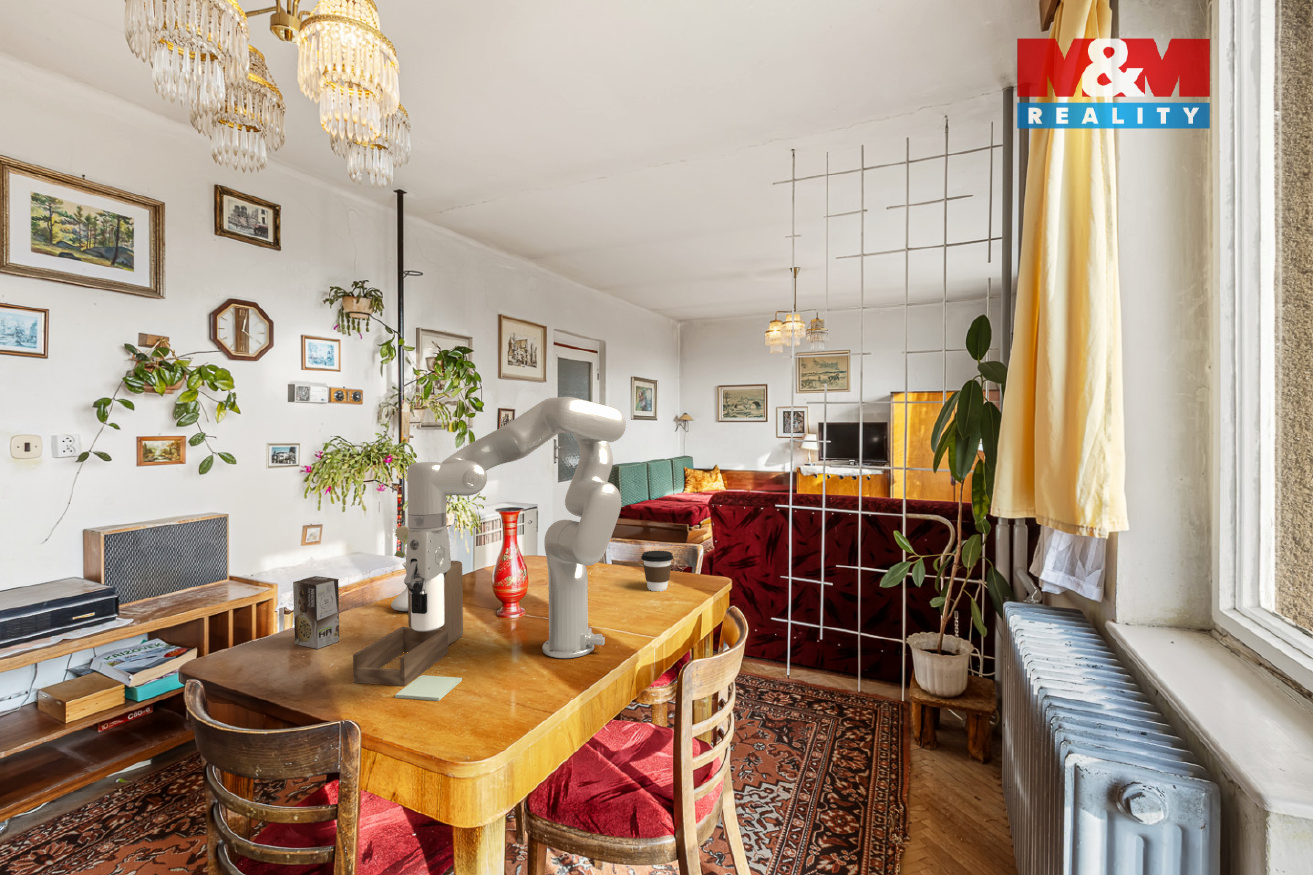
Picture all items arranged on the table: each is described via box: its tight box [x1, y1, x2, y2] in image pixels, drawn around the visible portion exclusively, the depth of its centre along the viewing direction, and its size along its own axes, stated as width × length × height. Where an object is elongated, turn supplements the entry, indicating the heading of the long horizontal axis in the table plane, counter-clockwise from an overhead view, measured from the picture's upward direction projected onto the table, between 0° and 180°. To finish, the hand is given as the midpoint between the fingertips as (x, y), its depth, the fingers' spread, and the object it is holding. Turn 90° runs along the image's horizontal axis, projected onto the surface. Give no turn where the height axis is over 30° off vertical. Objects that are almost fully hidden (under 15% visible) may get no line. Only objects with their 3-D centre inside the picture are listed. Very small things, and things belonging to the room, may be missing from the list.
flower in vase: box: [390, 525, 409, 612], centre depth 179 cm, size 13×11×25 cm
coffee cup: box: [640, 550, 674, 592], centre depth 198 cm, size 11×11×12 cm
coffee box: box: [292, 575, 340, 650], centre depth 150 cm, size 9×6×16 cm
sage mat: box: [394, 674, 463, 702], centre depth 123 cm, size 10×10×1 cm
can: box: [411, 573, 444, 632], centre depth 123 cm, size 6×6×12 cm
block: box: [407, 560, 464, 646], centre depth 150 cm, size 10×10×20 cm
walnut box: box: [352, 626, 449, 687], centre depth 134 cm, size 12×18×6 cm, turn 171°
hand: (428, 607), depth 123 cm, fingers closed on can, 5 cm apart
